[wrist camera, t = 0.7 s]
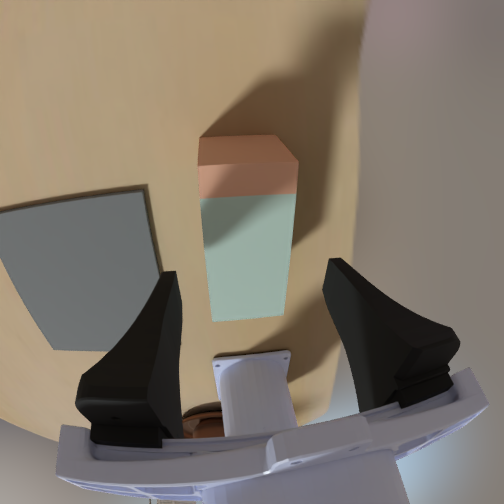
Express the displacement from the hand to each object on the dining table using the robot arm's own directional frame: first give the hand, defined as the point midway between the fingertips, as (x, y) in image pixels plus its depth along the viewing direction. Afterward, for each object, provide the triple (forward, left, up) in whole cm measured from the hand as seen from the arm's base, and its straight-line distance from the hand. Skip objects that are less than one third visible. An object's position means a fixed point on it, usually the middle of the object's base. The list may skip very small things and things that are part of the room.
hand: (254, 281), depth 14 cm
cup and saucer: (-34, +4, -8) cm, 35 cm away
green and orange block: (0, 0, -7) cm, 7 cm away
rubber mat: (-6, +13, -7) cm, 16 cm away
